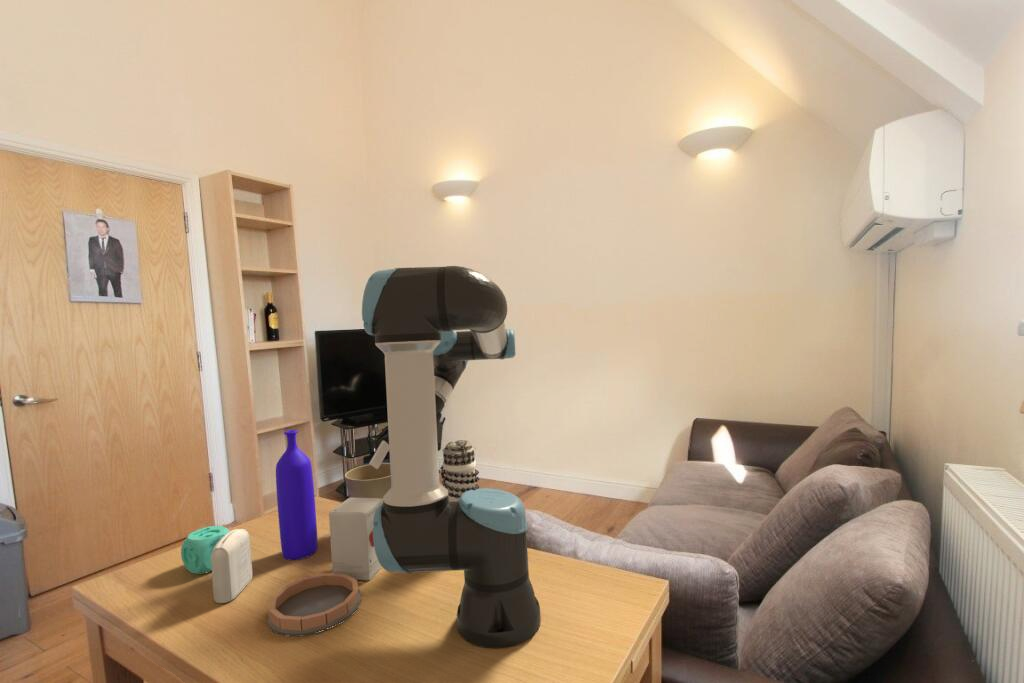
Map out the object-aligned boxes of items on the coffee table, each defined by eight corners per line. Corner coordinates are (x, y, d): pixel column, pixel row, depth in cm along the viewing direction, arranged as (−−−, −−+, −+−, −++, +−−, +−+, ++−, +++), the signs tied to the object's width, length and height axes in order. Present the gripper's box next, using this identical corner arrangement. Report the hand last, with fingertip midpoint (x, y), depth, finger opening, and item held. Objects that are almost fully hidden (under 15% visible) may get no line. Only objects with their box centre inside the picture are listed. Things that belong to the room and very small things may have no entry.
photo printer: (236, 578, 113) (231, 524, 112) (255, 577, 113) (251, 522, 112) (210, 605, 103) (205, 545, 102) (232, 603, 103) (227, 544, 102)
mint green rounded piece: (215, 555, 125) (212, 523, 124) (236, 560, 121) (233, 528, 121) (182, 570, 118) (178, 537, 117) (203, 577, 114) (200, 542, 114)
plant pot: (417, 522, 139) (414, 464, 138) (383, 546, 125) (378, 482, 124) (374, 515, 145) (370, 460, 144) (336, 537, 131) (332, 477, 130)
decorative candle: (440, 540, 127) (434, 441, 125) (474, 532, 130) (469, 436, 129) (451, 556, 118) (445, 450, 117) (488, 546, 122) (482, 444, 121)
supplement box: (370, 581, 109) (365, 513, 108) (331, 579, 110) (327, 511, 110) (388, 560, 117) (384, 497, 117) (353, 559, 119) (348, 496, 118)
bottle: (325, 549, 125) (316, 428, 123) (295, 563, 118) (285, 436, 116) (304, 542, 130) (295, 426, 128) (274, 556, 123) (264, 433, 121)
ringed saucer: (378, 602, 100) (377, 588, 100) (294, 648, 87) (293, 633, 87) (332, 576, 111) (331, 564, 111) (252, 614, 99) (251, 600, 98)
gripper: (476, 409, 128) (438, 486, 116) (407, 402, 142) (367, 470, 131) (461, 391, 123) (420, 469, 112) (391, 386, 138) (349, 455, 126)
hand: (391, 470), depth 121 cm, fingers open, 13 cm apart
